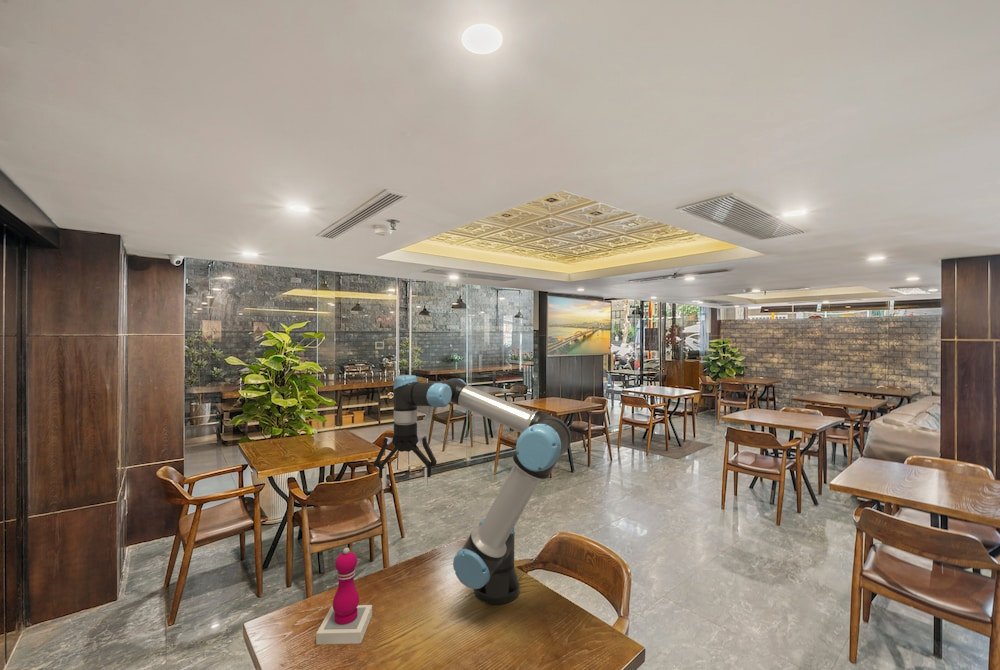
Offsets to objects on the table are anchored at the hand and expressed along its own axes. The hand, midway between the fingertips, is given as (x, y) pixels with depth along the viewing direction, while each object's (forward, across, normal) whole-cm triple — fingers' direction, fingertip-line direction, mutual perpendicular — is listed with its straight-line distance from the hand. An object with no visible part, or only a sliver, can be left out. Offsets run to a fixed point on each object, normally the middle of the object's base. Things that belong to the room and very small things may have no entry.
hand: (405, 487), depth 140 cm
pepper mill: (+31, +14, +16) cm, 38 cm away
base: (+35, +14, +16) cm, 41 cm away
